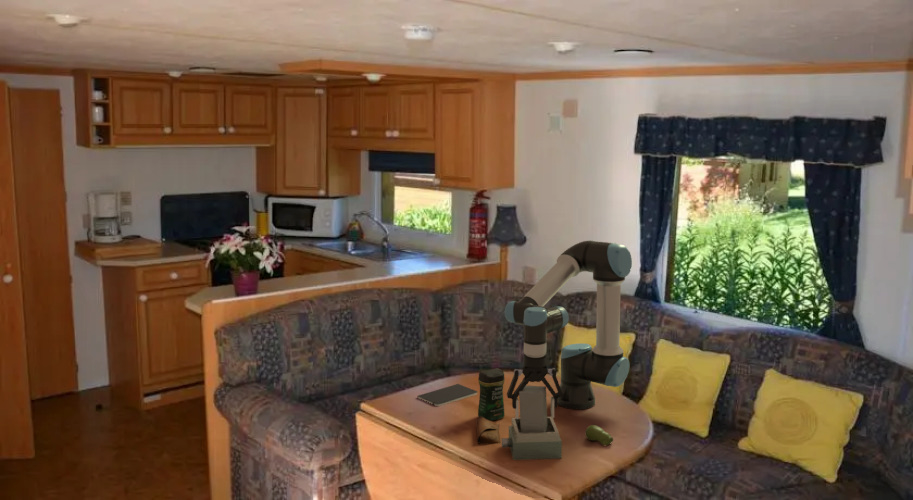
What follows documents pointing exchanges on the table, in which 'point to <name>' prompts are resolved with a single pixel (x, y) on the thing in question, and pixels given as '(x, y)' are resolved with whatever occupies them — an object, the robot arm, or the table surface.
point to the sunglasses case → (487, 431)
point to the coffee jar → (491, 394)
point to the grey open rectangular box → (534, 442)
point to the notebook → (447, 395)
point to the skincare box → (533, 409)
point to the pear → (598, 435)
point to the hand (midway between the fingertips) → (534, 417)
